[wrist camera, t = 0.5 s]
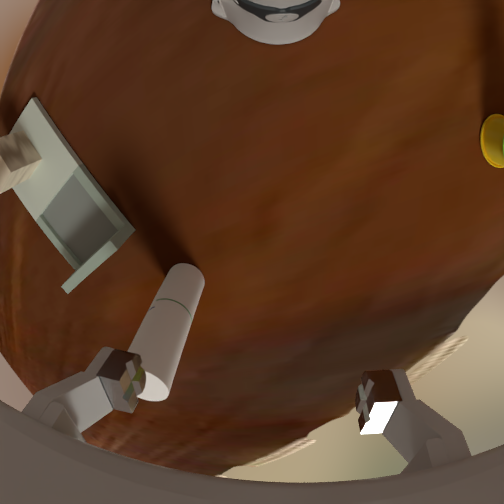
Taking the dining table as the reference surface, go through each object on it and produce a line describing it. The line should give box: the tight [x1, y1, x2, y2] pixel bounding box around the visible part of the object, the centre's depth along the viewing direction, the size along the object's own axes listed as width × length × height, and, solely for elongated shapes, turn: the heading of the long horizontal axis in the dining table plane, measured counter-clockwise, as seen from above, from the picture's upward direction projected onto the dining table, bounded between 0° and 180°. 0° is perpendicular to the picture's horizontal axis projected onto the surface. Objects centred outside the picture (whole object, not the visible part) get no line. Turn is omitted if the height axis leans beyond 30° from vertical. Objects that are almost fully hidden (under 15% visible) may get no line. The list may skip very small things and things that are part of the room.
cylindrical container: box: [128, 263, 205, 401], centre depth 45 cm, size 7×7×25 cm
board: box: [10, 97, 135, 294], centre depth 45 cm, size 34×18×8 cm, turn 35°
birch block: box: [0, 130, 42, 194], centre depth 40 cm, size 8×6×9 cm
